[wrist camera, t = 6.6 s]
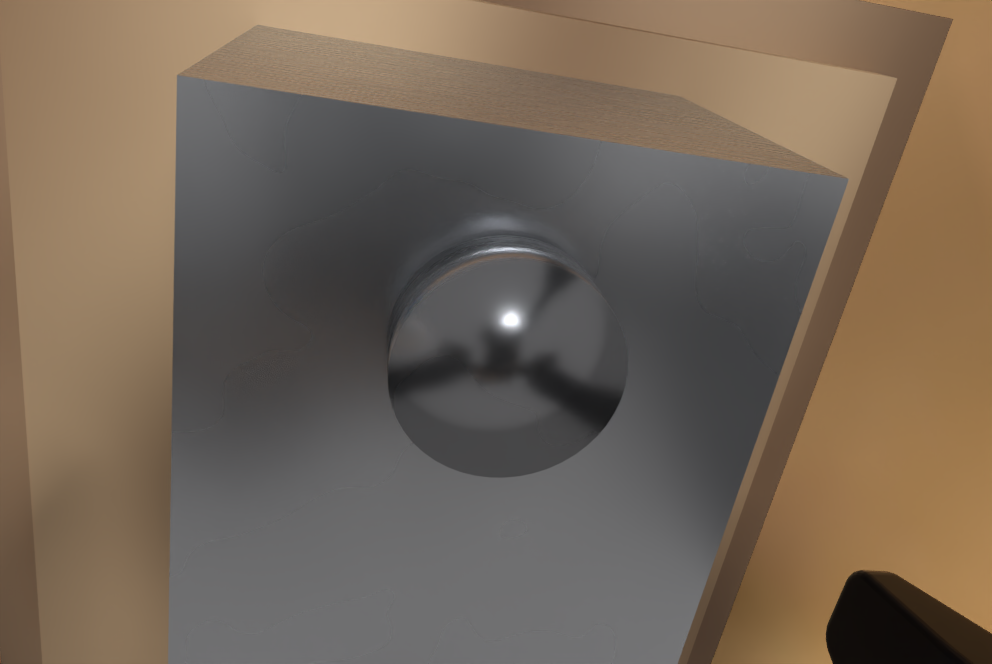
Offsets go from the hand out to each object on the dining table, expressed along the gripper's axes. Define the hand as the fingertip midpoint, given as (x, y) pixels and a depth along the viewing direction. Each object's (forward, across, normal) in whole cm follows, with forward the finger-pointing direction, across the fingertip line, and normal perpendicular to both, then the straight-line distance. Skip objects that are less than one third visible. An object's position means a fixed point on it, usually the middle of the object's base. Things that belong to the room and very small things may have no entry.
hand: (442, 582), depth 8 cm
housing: (+4, 0, 0) cm, 4 cm away
